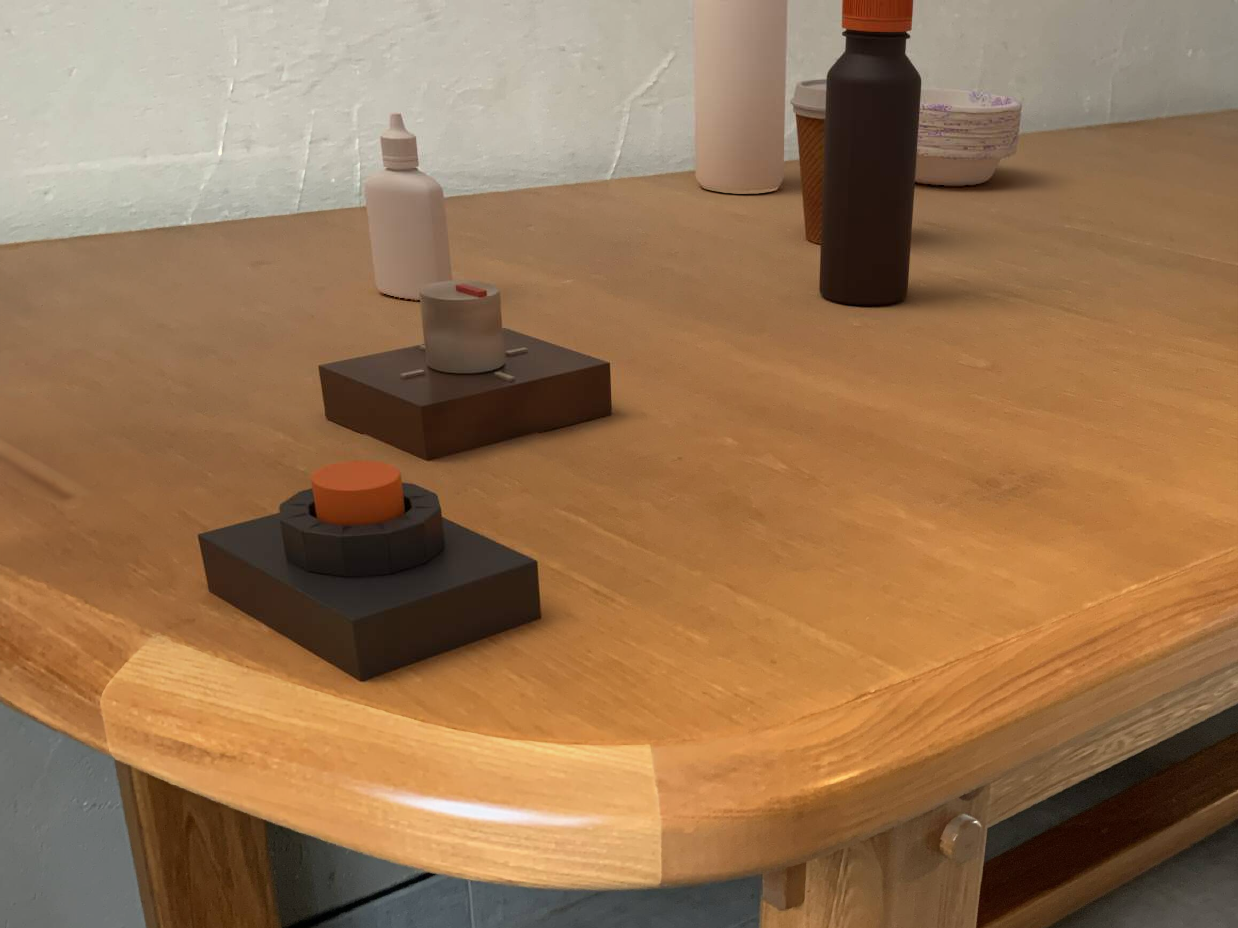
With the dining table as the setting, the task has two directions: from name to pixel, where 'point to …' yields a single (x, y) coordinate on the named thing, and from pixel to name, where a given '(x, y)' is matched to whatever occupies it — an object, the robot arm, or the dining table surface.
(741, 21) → the pale pink cylinder
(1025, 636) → the dining table surface
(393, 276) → the eye dropper bottle
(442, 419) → the dial panel
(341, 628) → the button base
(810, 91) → the disposable coffee cup
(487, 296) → the dial
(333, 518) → the button
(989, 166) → the paper bowls
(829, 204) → the dark brown water bottle
